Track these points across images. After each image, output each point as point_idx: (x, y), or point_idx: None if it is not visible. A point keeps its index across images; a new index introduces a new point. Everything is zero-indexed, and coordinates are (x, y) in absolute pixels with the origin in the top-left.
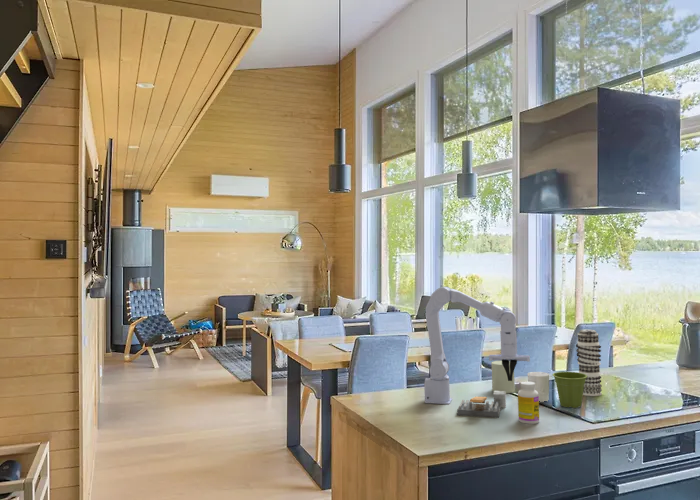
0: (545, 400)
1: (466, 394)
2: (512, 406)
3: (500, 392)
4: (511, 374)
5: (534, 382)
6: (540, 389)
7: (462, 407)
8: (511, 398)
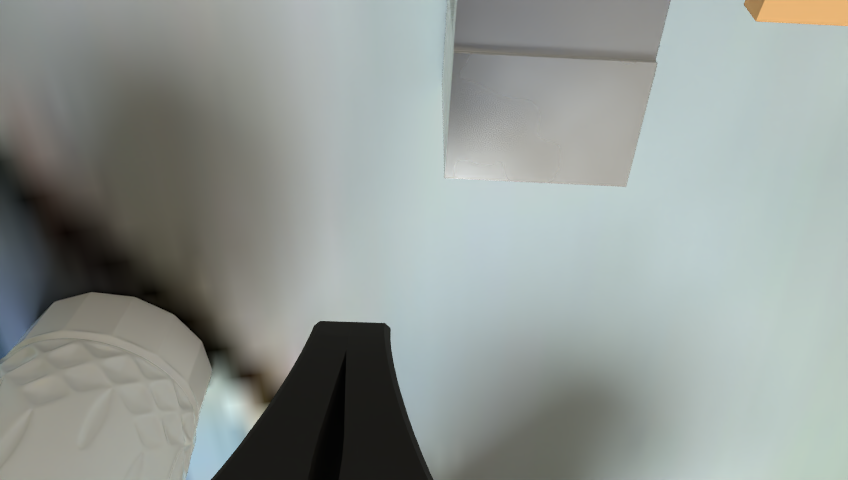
0: (39, 318)
1: (804, 446)
2: (363, 90)
3: (535, 71)
4: (294, 409)
5: (42, 464)
6: (11, 387)
7: None
8: None
